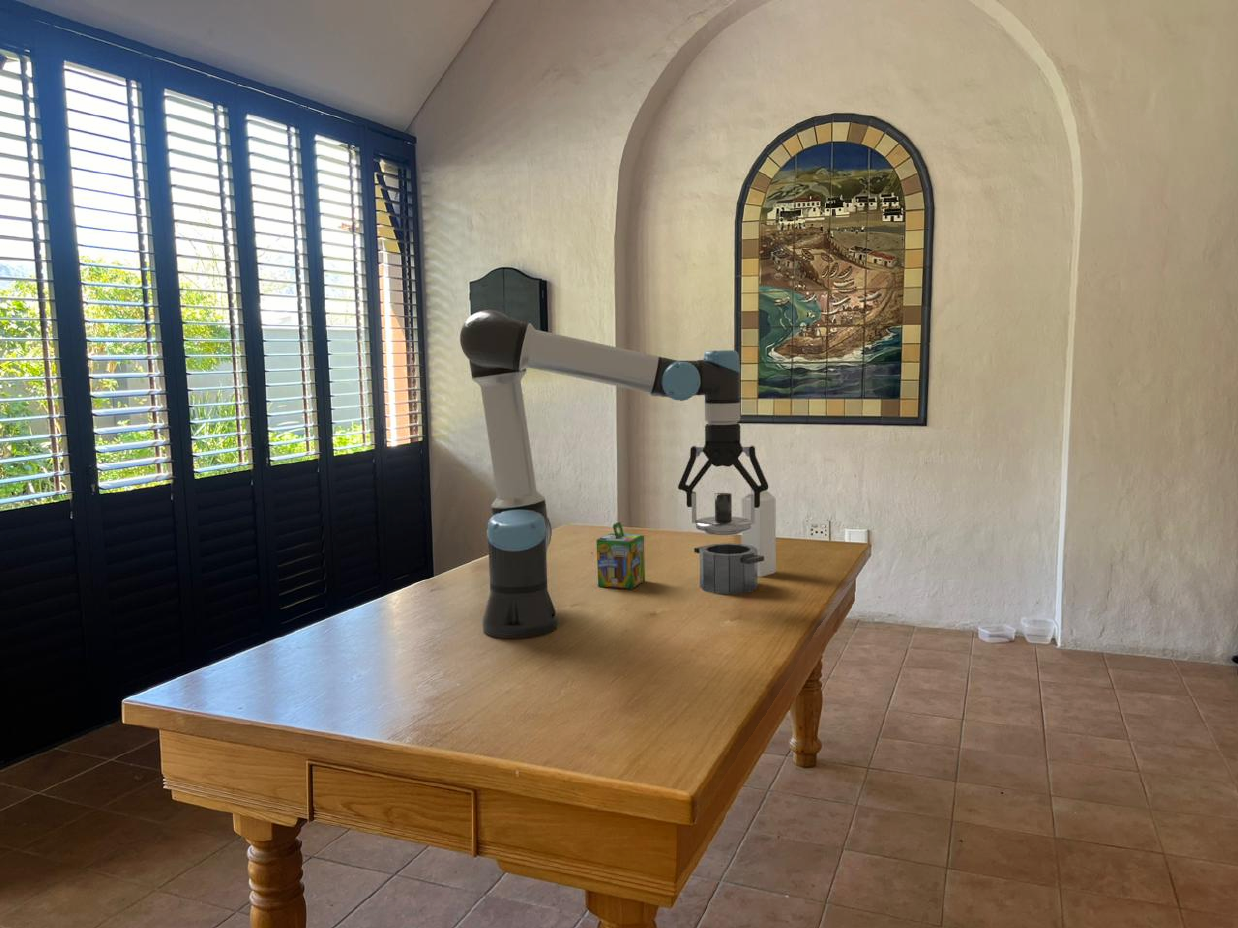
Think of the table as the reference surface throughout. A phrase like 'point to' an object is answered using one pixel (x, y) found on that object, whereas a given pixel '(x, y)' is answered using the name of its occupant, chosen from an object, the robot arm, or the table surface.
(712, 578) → the pot
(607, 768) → the table surface
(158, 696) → the table surface
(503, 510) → the robot arm
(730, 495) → the lid
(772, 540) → the milk
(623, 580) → the chalk box
